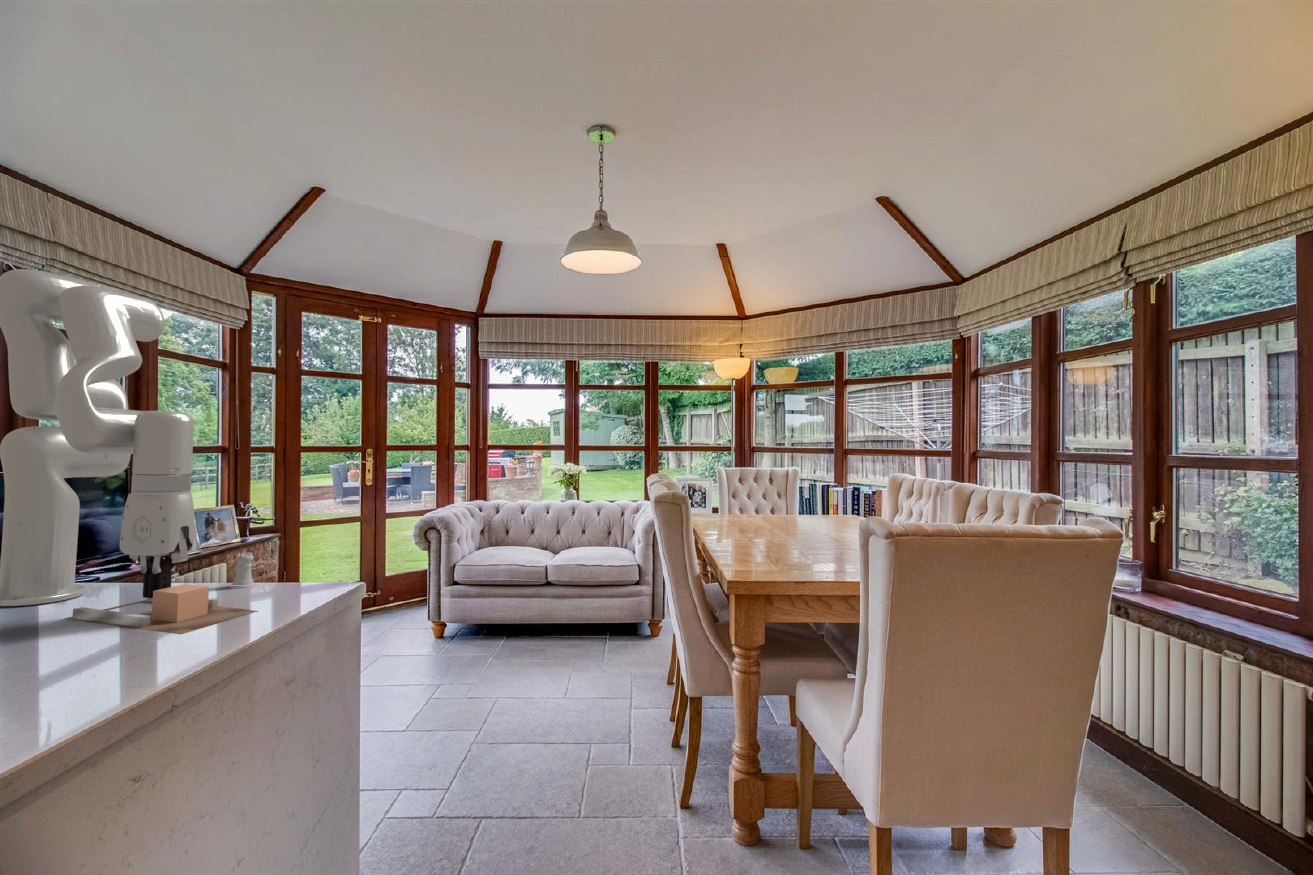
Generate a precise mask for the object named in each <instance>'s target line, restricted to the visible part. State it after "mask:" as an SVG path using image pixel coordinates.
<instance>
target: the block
mask: <svg viewBox="0 0 1313 875" xmlns="http://www.w3.org/2000/svg"><path fill="white" fill-rule="evenodd" d="M209 591H210V586H204V585H196V584H187V583H184V584H179V585H174V586H171V587H169V588H165V589H160V590H155V591H153V603H151V605H152V606H151V611H152V619H155V620H162V621H170V622H180V621H183V620H187V619H190V618H194V617H198V616H201V615H205V614H207V611H208V597H209Z"/></svg>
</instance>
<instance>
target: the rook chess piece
mask: <svg viewBox="0 0 1313 875" xmlns="http://www.w3.org/2000/svg"><path fill="white" fill-rule="evenodd" d="M254 558H255V556H254V555H253V552H250V551H249V552H248V551H247V552H246V553H245V552H241V553H240V552H237V553H236V556H235V558H234V561H235V562H236V565H235V568H236V569H235V570H236V571H235V575H234V580H233V581H232V583H231V585H256V586H257V584H256V583H255V582H254V579H253V575H252V567H253V564H252V561H253V560H254ZM253 587H255V586H229V588H230V589H232V590H233V589H235V590H236V589H237V590H239V589H240V590H241V589H249V588H253Z"/></svg>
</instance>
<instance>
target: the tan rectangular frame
mask: <svg viewBox="0 0 1313 875" xmlns="http://www.w3.org/2000/svg"><path fill="white" fill-rule="evenodd" d="M143 603H149V604H153V598H146V599H144V600H143V599H142V600H140V601H139V600H138V601H135V602H129V603H126V604H122V605H121V604H120V605H118V606H112V607H109V608H105V609H98V608H89V607H82V606H79V607H75V608H72V616H69V617H64V618H63V619H64V620H72V621H75V622H77V621H79V622H83V623H91V624H92V623H93V624H101V625H106V626H107V625H108V626H113V627H115V626H116V627H124V628H130V629H138V630H146V631H152V632H153V631H154V632H161V633H169V634H177V635H184V634H187V633H191V632H194V631H198V630H200V629H201V630H202V629H204V628H208V627H211V626H213V625H217V624H220V623H223V622H228V621H231V620H234V619H237V618H240V617H244V616H247V615H250V614H254V613H256V612H259V610H255V609H254V610H253V609H246V608H245V609H244V608H236V607H227V606H219V605H218V603H219V598H217V597H210V596H208V611H207V614H205V615H201V616H198V617H194V618H190V619H187V620H183V621H180V622H170V621H162V620H155V619H152V610H150V611H149V610H148V611H145V612H142V613H130V612H121V611H115V610H116V609H120V608H124V607H128V606H133V605H137V604H143ZM113 610H114V611H113Z"/></svg>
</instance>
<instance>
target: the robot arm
mask: <svg viewBox="0 0 1313 875" xmlns="http://www.w3.org/2000/svg"><path fill="white" fill-rule="evenodd" d="M51 320H55V321H58V322H59V321H60V322H62V323H63V327H64V330H65V332H66V336H67V337H66V336H65V335H64V333H62V332H61V331H60V329H58V327H56V326H55V324H52V322H51ZM0 329H1V331H2V334H3V337H4V340H5V343H6V346H7V364H8V384H9V385H8V387H9V397H10V398H9V399H10V404H11V407H12V409H13V410H14V412H15V413H16V414H17V415H19V416H21V417H23V418H27V419H30V420H31V419H32V420H39V421H40V420H41V421H52V422H53V421H55V422H58V423H59V426H50V425H48V426H46V425H45V426H44V425H43V426H41V425H39V426H26V427H20V428H17V429H14V430H12V431H10V432H8V433H7V434H6V435H5V436H4V437H3V438H2V440H1V442H0V461H1V468H2V472H3V481H4V503H3V504H4V505H3V520H2V521H3V523H2V538H1V539H2V540H1V552H0V607H20V606H21V607H22V606H34V605H40V604H41V605H42V604H50V603H56V602H60V601H61V602H62V601H65V600H70V599H75V598H77V597H80V596H82V595H84V594H85V593H86V586H85V585H83V584H78V583H75V581H76V580H75V579H76V564H77V555H78V554H77V552H78V539H79V538H78V537H79V525H80V524H79V522H80V508H81V506H80V498H79V496H78V494H77V493H76V492H75V491H74V490H73V489H72V487H71V486H70V485H69V483H67V482H66V480H65V479H68V478H69V479H70V478H98V477H102V478H103V477H112V476H113V477H114V476H116V475H119V474H121V473H123V472H124V471H125V470H126V469H127V468H128V466H129V464H130V460H131V455H132V466H131V467H132V468H131V469H132V470H131V472H132V475H131V489H130V491H131V492H130V493H128V495H127V499H126V502H125V505H124V508H123V509H124V510H123V513H122V520H121V525H120V526H121V527H120V535H119V536H120V537H119V550H120V551H121V552H122V553H123V554H126V555H128V557H129V558H130V559H131V560H133V561H136V562H138V563H139V566H140V572H141V573H142V574H143V579H142V580H143V582H142V583H143V585H142V597H143V598H144V599H147V598H153V591H155V590H160V589H165V588H169V587H172V573H173V571H174V570H175V569H176V565H177V564H178V563H181V562H187V561H188V560H189V552H191V550H192V549H193V548H194V544H195V535H196V534H195V532H196V531H195V529H196V528H195V526H196V523H195V521H196V519H195V509H194V508H195V507H194V501H193V495H192V473H193V472H192V470H193V452H194V451H193V450H194V449H193V448H194V434H195V433H194V432H195V430H194V429H195V422H194V418H193V416H192V415H191V414H188V413H186V412H180V411H167V410H166V411H165V410H136V409H134V410H133V409H129V402H128V395H127V393H126V391H125V389H124V388H123V386H122V384H120V382H118V381H117V379H121V378H124V377H127V376H129V375H131V374H133V373H135V372H136V371H138V370H139V369H140V368H141V365H142V364H143V356H142V354H141V352H140V349H139V347H138V344H137V341H138V342H143V343H144V342H147V343H149V342H153V341H155V340H157V339H159V337H161V335H162V333H163V332H164V329H165V316H164V314H163V312H162V310H161V308H160V307H159V305H158V304H157V303H156V302H155V301H152V300H151V299H150V298H148V297H147V298H146V297H144V296H140V295H137V294H135V293H132V292H128V291H126V290H123V289H120V288H115V287H112V286H108V285H104V284H100V283H95V282H92V281H87V280H82V279H78V278H73V277H70V276H66V275H61V274H58V273H53V272H49V271H42V270H36V269H28V268H19V269H18V268H17V269H12V270H8V271H6V272H3V273H2V274H1V275H0ZM67 338H68V339H67ZM75 362H76V364H75Z"/></svg>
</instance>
